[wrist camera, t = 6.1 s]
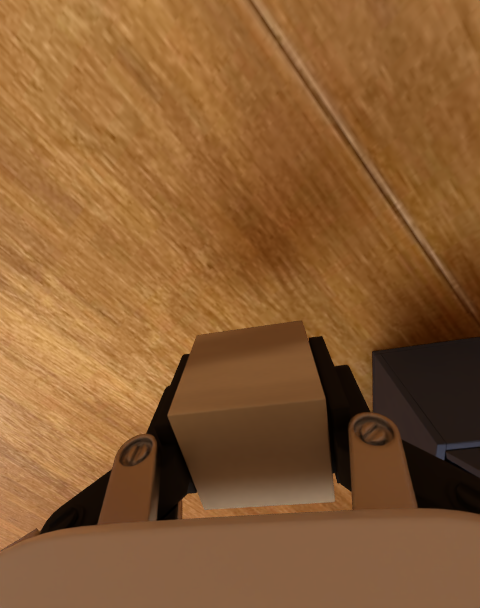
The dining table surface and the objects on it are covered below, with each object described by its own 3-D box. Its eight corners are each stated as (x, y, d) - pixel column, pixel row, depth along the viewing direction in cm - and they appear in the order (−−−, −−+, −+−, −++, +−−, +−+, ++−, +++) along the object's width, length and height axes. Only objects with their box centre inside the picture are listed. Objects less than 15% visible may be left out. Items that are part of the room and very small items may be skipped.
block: (196, 334, 12) (166, 415, 8) (301, 319, 11) (325, 398, 7) (219, 412, 14) (204, 510, 10) (311, 403, 13) (335, 502, 9)
